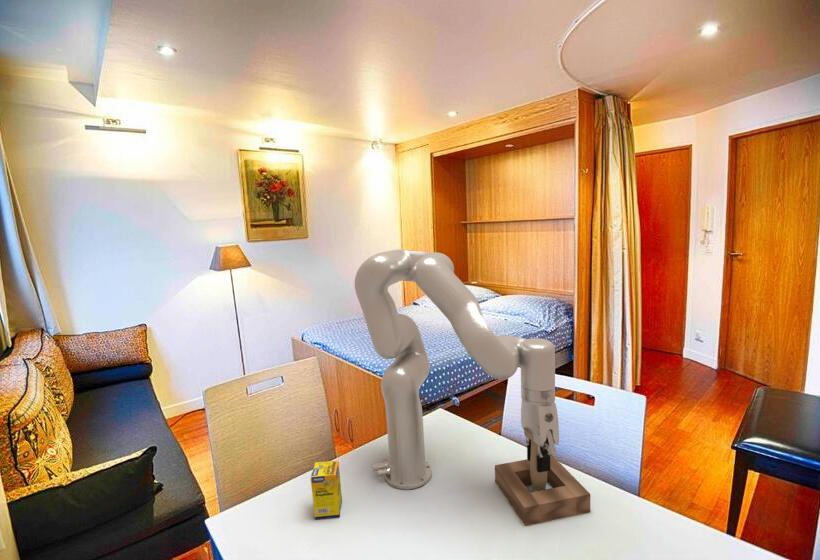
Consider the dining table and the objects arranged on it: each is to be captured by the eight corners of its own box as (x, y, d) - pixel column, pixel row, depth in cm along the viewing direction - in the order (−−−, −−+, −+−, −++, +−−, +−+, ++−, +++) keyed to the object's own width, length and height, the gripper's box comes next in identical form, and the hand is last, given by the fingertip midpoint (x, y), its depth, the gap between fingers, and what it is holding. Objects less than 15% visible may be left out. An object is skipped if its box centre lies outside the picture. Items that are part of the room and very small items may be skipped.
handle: (553, 496, 94) (553, 436, 92) (525, 493, 96) (524, 434, 94) (552, 483, 99) (551, 426, 97) (524, 480, 101) (523, 424, 98)
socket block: (524, 526, 88) (524, 507, 88) (495, 481, 104) (494, 465, 103) (590, 512, 91) (590, 493, 91) (552, 470, 107) (551, 454, 106)
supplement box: (340, 517, 94) (336, 474, 93) (314, 520, 94) (309, 477, 92) (342, 500, 100) (339, 459, 99) (318, 502, 100) (314, 462, 98)
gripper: (573, 405, 86) (573, 484, 89) (534, 377, 103) (535, 444, 105) (541, 410, 85) (542, 490, 88) (507, 381, 101) (508, 449, 104)
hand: (538, 464), depth 97 cm, fingers closed on handle, 3 cm apart
